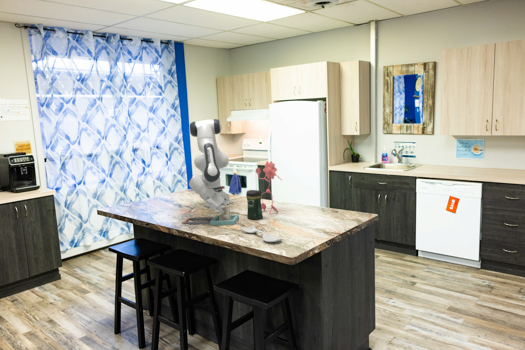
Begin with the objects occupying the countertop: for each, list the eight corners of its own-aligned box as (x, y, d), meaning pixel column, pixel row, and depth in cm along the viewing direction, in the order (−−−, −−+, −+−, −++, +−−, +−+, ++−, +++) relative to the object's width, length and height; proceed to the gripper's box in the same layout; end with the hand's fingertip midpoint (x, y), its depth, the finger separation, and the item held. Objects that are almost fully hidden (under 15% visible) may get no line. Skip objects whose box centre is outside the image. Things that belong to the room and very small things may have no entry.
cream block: (219, 222, 258) (218, 207, 257) (221, 220, 263) (220, 205, 262) (228, 222, 258) (227, 207, 256) (230, 220, 262) (229, 205, 261)
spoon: (253, 229, 240) (252, 224, 240) (285, 242, 214) (285, 236, 213) (239, 232, 236) (239, 226, 235) (271, 246, 209) (270, 239, 208)
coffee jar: (264, 217, 266) (263, 189, 263) (257, 220, 260) (255, 191, 257) (253, 216, 272) (251, 188, 269) (245, 218, 265) (243, 190, 263)
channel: (182, 224, 258) (181, 222, 258) (188, 219, 270) (187, 217, 270) (208, 224, 256) (208, 222, 256) (213, 219, 268) (213, 217, 267)
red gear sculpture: (277, 216, 267) (275, 163, 262) (251, 210, 286) (249, 161, 282) (293, 212, 277) (292, 161, 272) (268, 207, 296) (266, 159, 292)
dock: (210, 225, 254) (210, 221, 254) (216, 218, 269) (216, 215, 268) (234, 224, 252) (233, 220, 252) (238, 218, 267) (238, 214, 266)
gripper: (208, 195, 248) (224, 210, 248) (216, 189, 268) (232, 203, 268) (201, 202, 250) (218, 218, 250) (210, 196, 270) (225, 210, 270)
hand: (225, 210), depth 259 cm, fingers open, 8 cm apart
